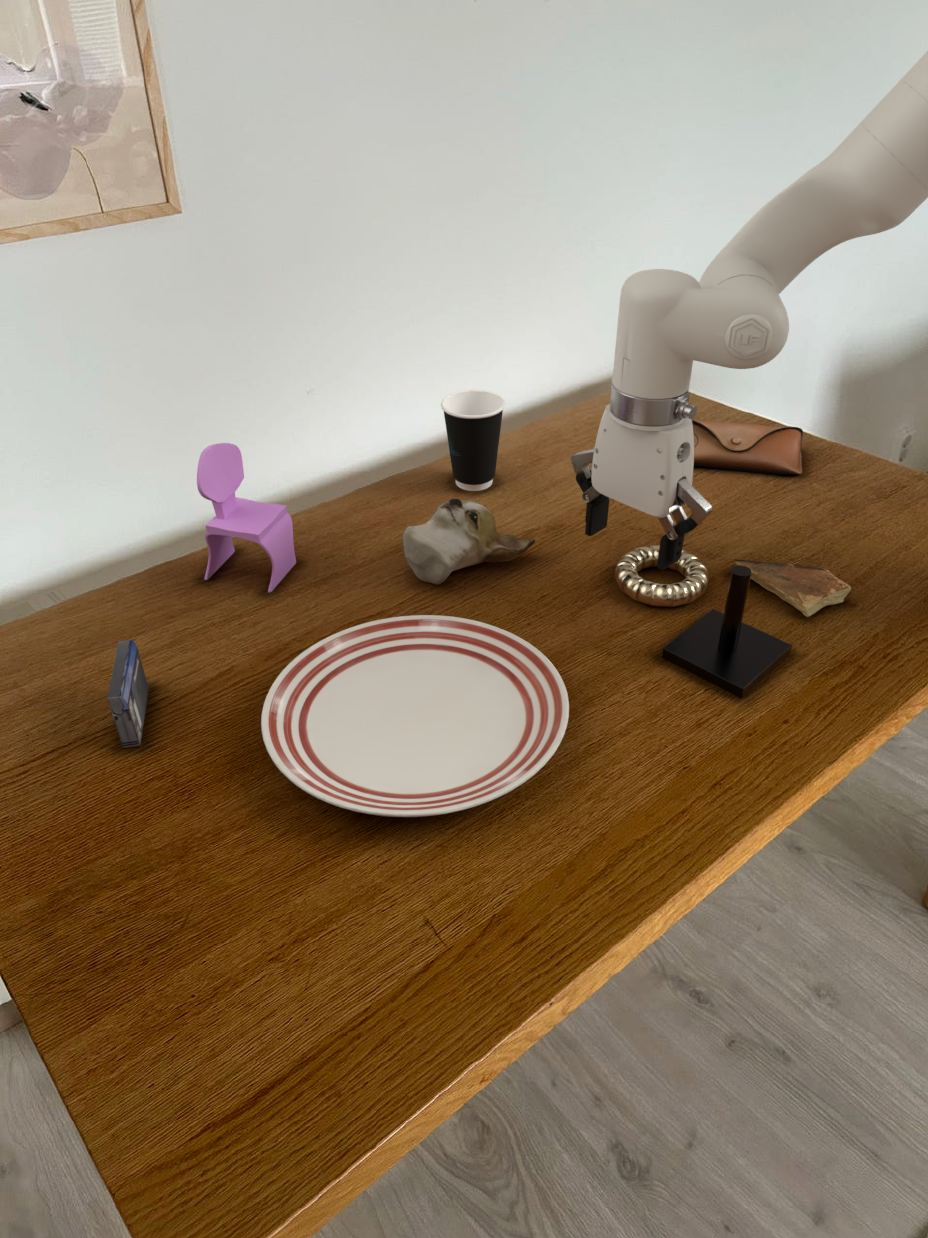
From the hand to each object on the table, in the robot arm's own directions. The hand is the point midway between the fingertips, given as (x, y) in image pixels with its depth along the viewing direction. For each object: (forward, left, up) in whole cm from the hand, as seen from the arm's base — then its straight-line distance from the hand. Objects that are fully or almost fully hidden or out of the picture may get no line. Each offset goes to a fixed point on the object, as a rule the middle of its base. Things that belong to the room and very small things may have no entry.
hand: (630, 547), depth 108 cm
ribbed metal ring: (-4, 0, -2) cm, 5 cm away
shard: (-15, -8, -3) cm, 18 cm away
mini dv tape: (+19, +51, -3) cm, 54 cm away
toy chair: (+31, +29, -3) cm, 42 cm away
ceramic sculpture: (+15, +12, -3) cm, 19 cm away
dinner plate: (-1, +34, -3) cm, 34 cm away
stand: (-16, +6, -3) cm, 17 cm away
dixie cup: (+27, -3, -3) cm, 27 cm away
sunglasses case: (+6, -31, -3) cm, 32 cm away
